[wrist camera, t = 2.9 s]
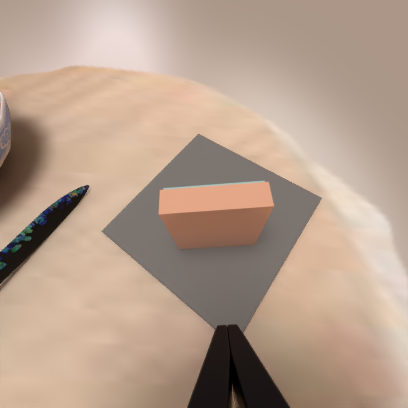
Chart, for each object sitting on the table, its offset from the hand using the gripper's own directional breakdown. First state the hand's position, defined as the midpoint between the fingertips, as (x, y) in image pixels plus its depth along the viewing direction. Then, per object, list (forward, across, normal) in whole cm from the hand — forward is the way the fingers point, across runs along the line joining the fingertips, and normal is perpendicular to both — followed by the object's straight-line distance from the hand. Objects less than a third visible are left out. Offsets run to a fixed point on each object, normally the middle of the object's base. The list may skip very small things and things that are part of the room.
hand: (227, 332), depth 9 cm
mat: (+17, 0, +1) cm, 17 cm away
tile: (+14, 0, +3) cm, 15 cm away
